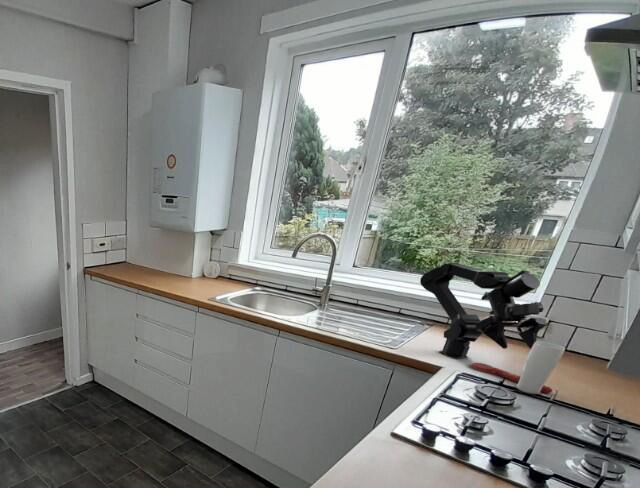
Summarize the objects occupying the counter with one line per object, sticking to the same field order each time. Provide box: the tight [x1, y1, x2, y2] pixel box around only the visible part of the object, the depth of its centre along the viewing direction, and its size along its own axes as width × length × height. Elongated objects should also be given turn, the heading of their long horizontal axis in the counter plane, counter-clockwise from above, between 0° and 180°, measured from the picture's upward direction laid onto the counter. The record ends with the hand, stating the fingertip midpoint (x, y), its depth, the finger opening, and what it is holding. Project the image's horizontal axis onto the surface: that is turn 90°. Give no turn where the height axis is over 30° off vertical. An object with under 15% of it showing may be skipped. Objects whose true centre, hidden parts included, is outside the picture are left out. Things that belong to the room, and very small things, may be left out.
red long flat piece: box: [470, 362, 553, 394], centre depth 132 cm, size 22×6×2 cm, turn 17°
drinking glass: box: [516, 340, 566, 395], centre depth 122 cm, size 7×7×15 cm
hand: (519, 348), depth 127 cm, fingers open, 9 cm apart
